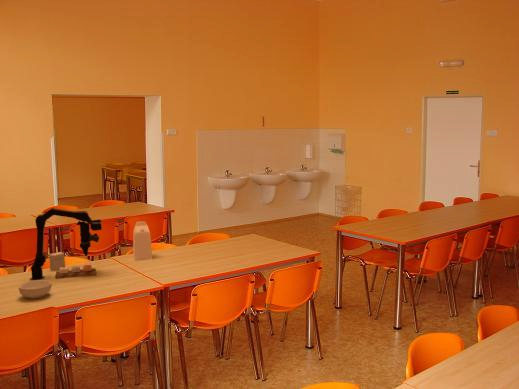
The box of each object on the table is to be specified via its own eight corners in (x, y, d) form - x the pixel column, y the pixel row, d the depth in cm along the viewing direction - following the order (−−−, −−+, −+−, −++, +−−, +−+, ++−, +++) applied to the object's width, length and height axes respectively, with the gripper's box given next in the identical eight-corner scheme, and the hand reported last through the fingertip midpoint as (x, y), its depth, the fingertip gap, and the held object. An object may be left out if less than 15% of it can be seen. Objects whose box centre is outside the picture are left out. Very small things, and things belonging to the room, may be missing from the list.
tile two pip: (71, 272, 345) (71, 268, 344) (71, 270, 350) (71, 266, 349) (79, 271, 346) (79, 267, 346) (80, 269, 351) (79, 265, 351)
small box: (61, 267, 368) (59, 251, 367) (65, 268, 365) (64, 253, 363) (49, 269, 362) (48, 254, 361) (54, 271, 358) (53, 255, 357)
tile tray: (55, 278, 340) (55, 275, 340) (56, 274, 350) (56, 271, 350) (95, 275, 347) (95, 272, 346) (96, 271, 356) (95, 268, 356)
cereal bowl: (12, 299, 302) (11, 287, 301) (34, 290, 317) (34, 278, 316) (37, 302, 296) (36, 289, 295) (58, 293, 311) (57, 281, 310)
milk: (150, 255, 396) (148, 219, 392) (152, 258, 385) (150, 222, 381) (133, 256, 392) (131, 221, 388) (135, 260, 381) (133, 223, 378)
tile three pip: (83, 271, 347) (82, 267, 346) (83, 269, 351) (83, 265, 351) (91, 270, 348) (91, 266, 348) (91, 268, 353) (91, 264, 352)
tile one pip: (59, 273, 343) (59, 269, 343) (60, 271, 348) (59, 267, 347) (68, 272, 344) (67, 268, 344) (68, 270, 349) (68, 266, 349)
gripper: (98, 233, 340) (99, 257, 342) (98, 227, 357) (99, 251, 359) (79, 234, 337) (80, 259, 339) (80, 228, 354) (82, 252, 357)
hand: (86, 255), depth 348 cm, fingers open, 3 cm apart
